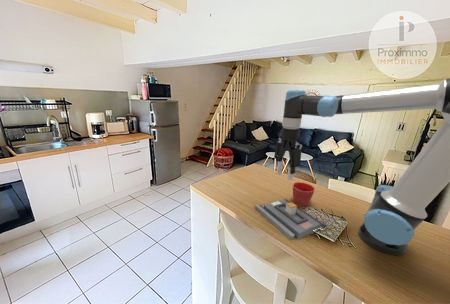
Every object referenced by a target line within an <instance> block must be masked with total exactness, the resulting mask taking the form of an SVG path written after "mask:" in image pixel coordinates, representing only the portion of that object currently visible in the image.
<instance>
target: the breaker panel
mask: <svg viewBox="0 0 450 304" xmlns="http://www.w3.org/2000/svg"><path fill="white" fill-rule="evenodd" d="M284 199H285V198H284ZM284 199H279V200H276V201H273V202H268V203H266V204H263V208H264V209H266V210H267V211H268V212H269V213H271V214H272V215H273V216H274V217H275V218H277V219H278V220H279V221H280V222H282V223H283V224H284V225H285V226H286V227H288V228H289V229H290V230H291V231H293V232H294V233H295V234H296V235H297V236H296V238H295V239H297V240H300V239H302V238H304V237H307V236H309V235H311V234H313V233H315V232H313V230H315V229H318V228H320V225H321V224H320V223H318V222H317V221H315V220H314V219H312V218H311V217H309V216H308V215H306V214H305V213H303V212H302V211H300V210H299V209H297V208H296V213H295V215H292V216H291V215H289V214H288V213H287V212H285V210H286V204H287V203H288V202H287V201H285V200H284Z"/></svg>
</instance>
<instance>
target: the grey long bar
mask: <svg viewBox="0 0 450 304" xmlns="http://www.w3.org/2000/svg"><path fill="white" fill-rule="evenodd" d="M254 208H255V210H256V211H257V212H259V213H260V214H261V215H262V216H263V217H264V218H265V219H266V220H268V221H269V222H270V224H272V225H274V226H275V228H277V229H278V230H279V231H280V232H281V233H282V234H283V235H285V236H286V237H287V238H288V239H289V240H294V239H297V238H296V236H297V235H296V234H295V233H294V232H293V231H291V230H290V229H289V228H288V227H286V226H285V225H284V224H283V223H282V222H280V221H279V220H278V219H277V218H275V217H274V216H273V215H272V214H271V213H269V212H268V211H267V210H266V209H264V206H262V205H261V204H255V205H254Z"/></svg>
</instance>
